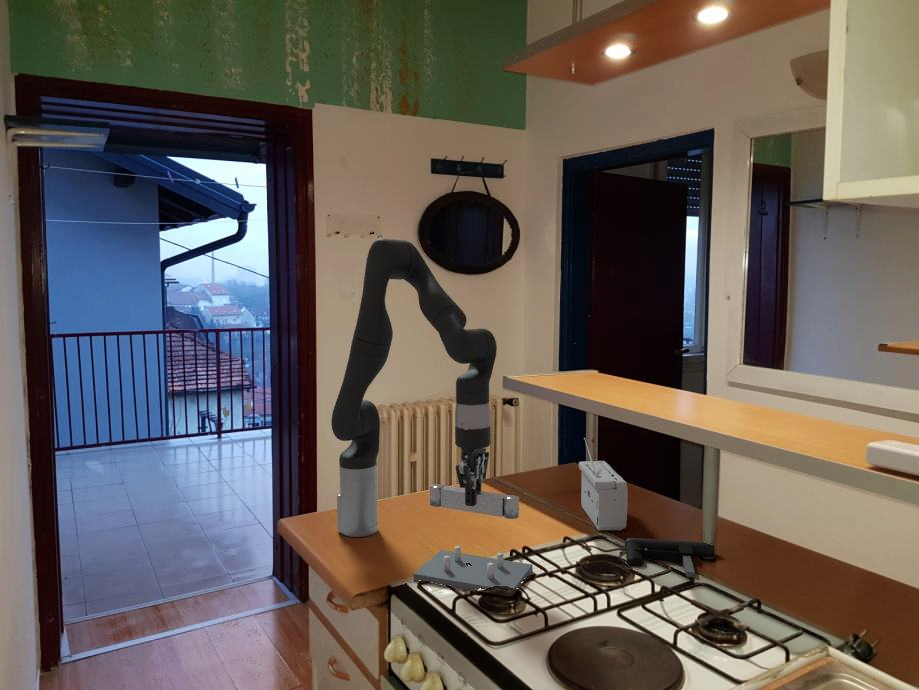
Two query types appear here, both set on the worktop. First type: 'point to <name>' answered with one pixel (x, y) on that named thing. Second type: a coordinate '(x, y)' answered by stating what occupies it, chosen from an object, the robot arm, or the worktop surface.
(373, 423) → the robot arm
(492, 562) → the board
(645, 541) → the toy gun
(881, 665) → the worktop surface
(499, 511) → the grey end-post crossbar
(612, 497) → the stereo radio cassette player
